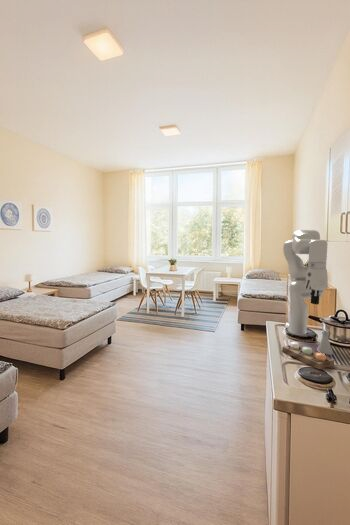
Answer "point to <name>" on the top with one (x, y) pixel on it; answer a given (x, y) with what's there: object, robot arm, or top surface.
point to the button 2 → (307, 351)
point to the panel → (307, 357)
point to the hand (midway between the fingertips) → (314, 303)
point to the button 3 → (320, 357)
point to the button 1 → (294, 345)
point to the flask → (325, 344)
